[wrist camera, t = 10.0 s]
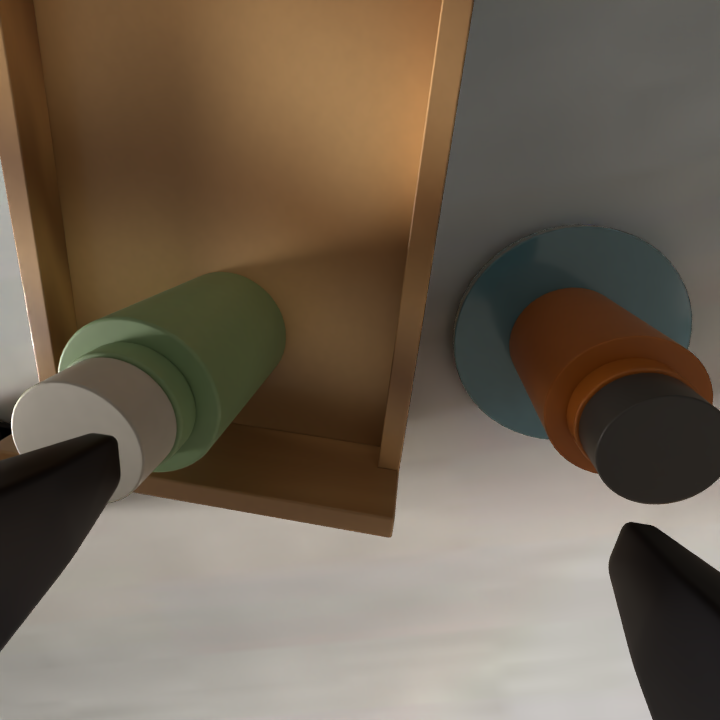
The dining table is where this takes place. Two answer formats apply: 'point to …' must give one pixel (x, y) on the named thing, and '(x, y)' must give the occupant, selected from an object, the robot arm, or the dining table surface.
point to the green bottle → (159, 375)
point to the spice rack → (244, 210)
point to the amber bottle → (618, 396)
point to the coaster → (546, 274)
